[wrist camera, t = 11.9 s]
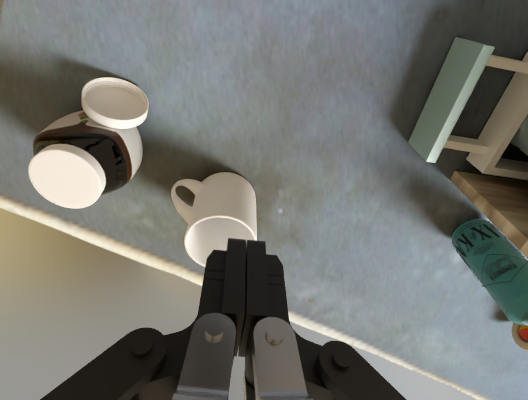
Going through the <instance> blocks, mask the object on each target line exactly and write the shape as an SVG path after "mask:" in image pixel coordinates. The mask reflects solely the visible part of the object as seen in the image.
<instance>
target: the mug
mask: <svg viewBox="0 0 528 400" xmlns="http://www.w3.org/2000/svg"><path fill="white" fill-rule="evenodd" d="M177 186H185V187H187V188H188V189H190V190H191V191H192V192H193V193H194V194H195V199H194V203H193V207H191V206H189V205H187V204H186V203H184V202H183V201H182V200H181V199H180V198H179V197H178V196H177V194H176V191H175V189H176V187H177ZM171 198H172V201H173V204H174V206H175V208H176V209H177V211H178V212H179V214H180V215H181V216H182V217H183V218H184V219H185V221H186V222H187V223H188V226H187V230H186V234H185V238H184V245H185V248H186V251H187V253H188V254H189V256H190V257H191V258H192V259H193V260H194V261H195V262H197V263H198V264H200V265H202V266H204V267H205V266H206V260H207V257H208V256H209V255H210V254H211V252H212V251H213V250H223V251H226V250H227V242H228V238H234V239H244V240H246V242H247V240H255V241H257V227H256V197H255V192H254V190H253V188H252V186H251V184H250V183H249V182H248V181H247V180H246V179H244V178H243V177H241V176H239V175H237V174H234V173H230V172H221V173H216V174H213V175H211V176H209V177H207V178H206V179H204V180H203V181H202V182H200V181H197V180H193V179H182V180H179V181H178V182H176V183H175V184H174V186H173V187H172V190H171Z"/></svg>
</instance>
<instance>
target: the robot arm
mask: <svg viewBox="0 0 528 400" xmlns="http://www.w3.org/2000/svg"><path fill="white" fill-rule="evenodd" d="M238 346H239V354H238V356H243V357H245V371H244V376H243V389H244V400H406V399H405V398H404V397H403V396H402V395H401V394H400V393H399V392H398V391H397V390H396V389H395V388H394V387H393V386H391V384H390V383H388V382H387V381H386V380H385V379H384V378H383V377H382V376H381V375H380V374H379V373H378V372H377V371H376V370H375V369H374V368H373V367H372V366H371V365H370V364H369V363H368V362H367V361H366V360H365V359H364V358H363V357H362V356H361V355H360V354H358V353H357V351H355V350H354V349H353V348H352V347H351V346H349V345H348V344H346V343H344V342H341V341H330V342H327V343H326V344H324V345H323V346H321V345H318V344H315V343H313V342H310V341H307V340H305V339H304V338H302V337H300V336H299V335H298V334H297V333H296V332H295V331H294V330H293V328H292V326H291V325H290V322H289V316H288V307H287V298H286V290H285V281H284V272H283V265H282V263H281V262H280V260H279V258H278V257H277V255H267V254H266V246H265V241H255V240H247V242H246V240H244V239H234V238H228V242H227V250H226V251H223V250H213V251H212V252H211V254H210V255H209V256H208V257H207V260H206V266H205V273H204V280H203V285H202V292H201V298H200V305H199V311H198V315H197V317H196V319H195V321H194V322H193V323H192V324H191V325H190V326H189V327H187V328H186V329H184V330H182V331H179V332H176V333H172V334H168V335H163V334H162V333H161V332H159V331H158V330H156V329H152V328H140V329H136V330H134V331H132V332H130V333H129V334H127V335H126V336H124V337H123V338H121V339H120V340H119V341H117V342H116V343H115V344H114V345H112V346H111V347H110V348H108V349H107V350H106V351H104V352H103V353H102V354H100V355H99V356H98V357H96V358H95V359H94V360H92V361H91V362H90V363H88V364H87V365H86V366H84V367H83V368H82V369H80V370H79V371H78V372H76V373H75V374H74V375H72V376H71V377H70V378H68V379H67V380H66V381H64V382H63V383H62V384H60V385H59V386H58V387H56V388H55V389H54V390H53V391H51V392H50V393H48V394H47V395H46V396H44V397H43V398H42V399H40V400H228V394H229V386H230V377H231V370H232V365H233V359H234V356H237V351H238Z"/></svg>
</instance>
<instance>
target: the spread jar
mask: <svg viewBox="0 0 528 400" xmlns="http://www.w3.org/2000/svg"><path fill="white" fill-rule="evenodd" d="M148 107H149V101H148V98H147V96H146V95H145V93H144V92H143V91H142V90H141V89H140V88H139V87H137V86H136V85H134V84H132V83H130V82H128V81H125V80H122V79H119V78H113V77H101V78H96V79H93V80H91V81H89V82H88V83H86V84H85V85H84V87H83V89H82V108H83V110H82V111H78V112H74V113H71V114H69V115H66V116H64V117H62V118H60V119H58V120H56V121H55V122H53V123H52V124H50V125H49V126H48V127H46V128H45V129H44V130H42V131H41V132H40V133H39V134H38V135H37V136H36V137H35V139H34V141H33V154H34V157H33V158H32V159H31V161H30V163H29V168H28V172H29V177H30V180H31V183H32V184H33V186H34V188H35V189H36V190H37V191H38V192H39V193H40V194H41V195H42V196H43V197H44V198H46V199H47V200H49V201H50V202H52V203H54V204H56V205H59V206H62V207H66V208H76V209H77V208H84V207H87V206H90V205H91V204H93V203H94V202H95V201H96V200H97V199H98V198H99V196H100V195H103V194H106V193H110V192H112V191H115V190H117V189H119V188H121V187H123V186H124V185H126V184H127V183H128V182H129V181H130V180H131V179H132V177H133V176H134V174H135V173H136V171H137V169H138V168H139V166H140V164H141V161H142V154H143V148H142V141H141V137H140V134H139V131H138V129H137V127H136V126H138V125H140V124H141V123H143V122H144V121H145V119H146V117H147V112H148Z"/></svg>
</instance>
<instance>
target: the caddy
mask: <svg viewBox="0 0 528 400" xmlns="http://www.w3.org/2000/svg"><path fill="white" fill-rule="evenodd" d="M494 48H495V47H493V46H489V45H485V44H482V43H478V42H475V41H471V40H467V39H463V38H458V37H455V39H454V41H453V44H452V46H451V48H450V50H449V53H448V55H447V57H446V59H445V61H444V64H443V66H442V68H441V70H440V73H439V75H438V77H437V79H436V81H435V84H434V86H433V88H432V90H431V93H430V95H429V97H428V99H427V101H426V104H425V106H424V108H423V110H422V113H421V115H420V117H419V119H418V121H417V124H416V126H415V128H414V130H413V133H412V135H411V137H410V139H409V142H408V143H409V144H410V146H411V147H412V148H413V149H414V150H415V151H416V152H417V153H418V154H419V155H420V156H421V157H422V158H423V159H424V160H425V161H426V162H432V163H436V161H437V159H438V157H439V155H440V153H441V151H442V149H443V148H449V149H455V150H461V151H467V152H470V153H469V155H468V157H467V158H466V160H467V161H469V162H470V163H471V164H472V165H473V166H475V167H476V168H477V169H478V170H479V171H481V172H482V173H484V174H490V175H497V176H503V177H510V178H516V179H523V180H528V162H523V161H517V160H511V159H505V158H500V157H501V156H502V154H503V153H504V151H505V149H506V148H507V146H508V145H509V143H510V141H511V140H512V138H513V137H514V135H515V134H516V132H517V130H518V129H519V127H520V126H521V124H522V122H523V121H524V119H525V118H526V116H527V115H528V51H527V53H526V55H525V57H524V58H523V60H522V61H520V60H515V59H510V58H505V57H500V56H495V55H491V54H492V52H493V50H494ZM485 66H490V67H495V68H500V69H505V70H510V71H515V74H514V76H513V78H512V79H511V81H510V83H509V85H508V86H507V88H506V90H505V92H504V93H503V95H502V97H501V99H500V100H499V102H498V104H497V106H496V107H495V109H494V111H493V113H492V114H491V116H490V118H489V120H488V121H487V123H486V125H485V127H484V128H483V130H482V132H481V134H480V136H479V137H478V139H472V138H466V137H460V136H454V135H450V133H451V132H452V130H453V128H454V126H455V124H456V122H457V120H458V118H459V116H460V114H461V112H462V110H463V108H464V106H465V104H466V103H467V101H468V99H469V97H470V95H471V93H472V91H473V89H474V87H475V85H476V83H477V81H478V79H479V77H480V75H481V73H482V72H483V70H484V68H485Z"/></svg>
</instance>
